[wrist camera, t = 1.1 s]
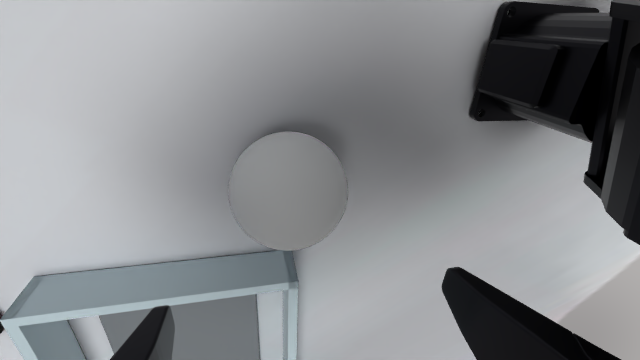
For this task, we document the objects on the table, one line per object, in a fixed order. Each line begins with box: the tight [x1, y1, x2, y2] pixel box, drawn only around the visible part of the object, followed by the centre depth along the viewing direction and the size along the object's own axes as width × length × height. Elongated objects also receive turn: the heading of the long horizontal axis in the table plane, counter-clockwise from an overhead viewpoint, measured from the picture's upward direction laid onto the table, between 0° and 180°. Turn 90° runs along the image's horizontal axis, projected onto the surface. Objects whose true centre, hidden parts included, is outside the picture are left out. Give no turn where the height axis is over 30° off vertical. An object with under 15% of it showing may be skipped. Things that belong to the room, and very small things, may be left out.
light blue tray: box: [0, 250, 298, 360], centre depth 22 cm, size 15×15×3 cm
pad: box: [99, 294, 260, 360], centre depth 23 cm, size 10×10×1 cm
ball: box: [228, 132, 348, 251], centre depth 16 cm, size 6×6×6 cm
